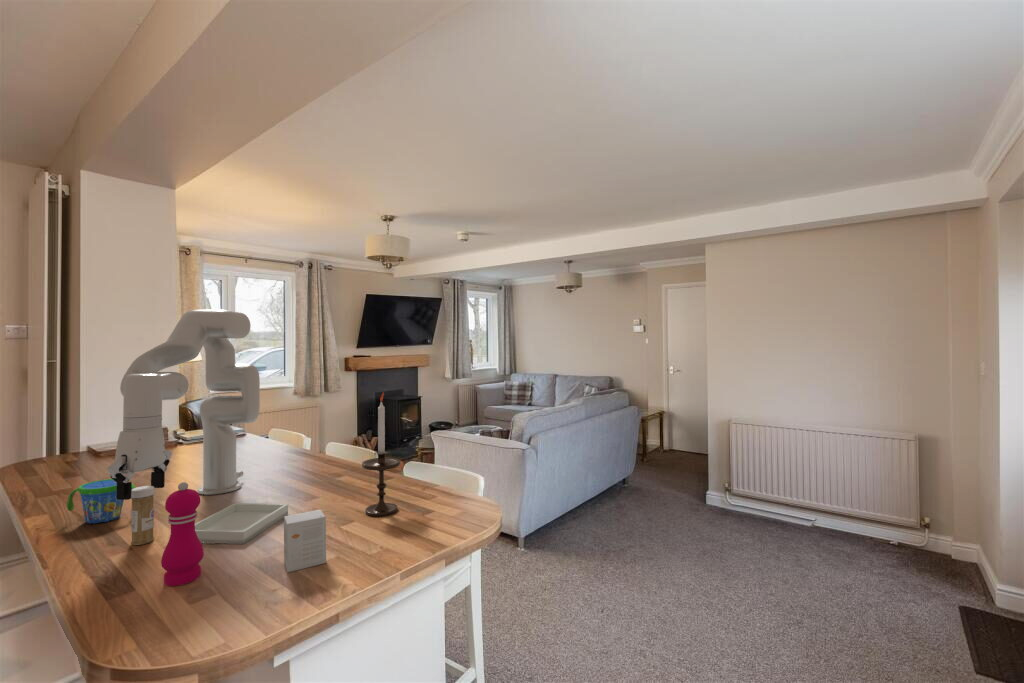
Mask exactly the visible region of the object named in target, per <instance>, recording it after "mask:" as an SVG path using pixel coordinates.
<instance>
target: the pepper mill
mask: <svg viewBox="0 0 1024 683" xmlns="http://www.w3.org/2000/svg"><path fill="white" fill-rule="evenodd" d="M177 489H178V490H174V492H172V493H171V494H169V495H168V496H167V497H166V500H165V505H164V507H165V511H166V512H168V514H169V515H168V516H167V518H168V520H167V523H168V524H170V535H169V538H168V542H167V544H166V546H165V548H164V551H163V553H162V555H161V562H160V563H161V564H160V565H161V567H162V569H163V570H165V571H166V572H164V575H163V583H164V585H165V586H167V587H179V586H182V585H186V584H189V583H192V582H194V581H196V580H198V579H199V578H200V576H201V574H202V566H201V564H200V563H201V561H202V560H203V558H204V554H205V552H204V547H203V543H201V542H200V540H199V538H198V536H197V534H196V531H195V523H196V520H197V519H198V510H197V508H199V506H200V504H201V494H199V493H198V490H195V489H192V488H189V484H188V483H187V482H186V481H184V482H180V483H179V484H178V485H177Z"/></svg>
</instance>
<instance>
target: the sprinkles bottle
mask: <svg viewBox="0 0 1024 683" xmlns="http://www.w3.org/2000/svg"><path fill="white" fill-rule="evenodd" d="M154 494H155V488H154V486H151V485H143V486H138V487H136V488H134V489H132V493H131V512H130V513H131V517H130V518H131V519H130V520H131V524H130V526H131V527H130V528H131V531H130V532H131V541H130V542H131V544H130V545H131V546H132V545H133V546H143V545H146V544H148V543H151V542H153V541H154V540H155V536H154V526H155V523H154V522H155V520H154V519H155V512H154V511H155V509H154Z"/></svg>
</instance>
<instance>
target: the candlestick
mask: <svg viewBox="0 0 1024 683" xmlns="http://www.w3.org/2000/svg"><path fill="white" fill-rule="evenodd" d="M384 392H385V391H382V394H381V396H380V398H379V400H380V403H379V406H378V407H377V417H378V418H377V452H374V455H377V457H375V458H369V459H366V460H363V461H362V463H361V468H362V469H364V470H368V471H377V472H378V479H379V480H378V483H377V484H376V489H378V492H377V493H376V494H377V495H376V496H378V502H377V503H375V504H370V505H369V506H367V507H366V508H365V511H364V512H365V515H366V516H368V517H373V518H374V517H375V518H379V517H380V518H382V517H387V516H388V517H389V516H392V515H393V514H396V513H397V512H398V505H397V504H395V503H392V502H386V501H385V495H387V494H386V492H385V489H386V488H387V483H385V471H386V470H392V469H395V468H398V467H400V466H401V459H400V458H397V457H388V456H387V457H386V454H389V451H386V450H385V449H386V448H385V447H386V446H385V444H386V442H385V441H386V436H385V435H386V427H385V426H386V425H385V423H386V422H385V420H386V419H385V418H386V415H385V413H386V410H385V406H384V404H383V401H384V400H383V399H384V396H385V393H384Z"/></svg>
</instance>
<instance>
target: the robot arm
mask: <svg viewBox="0 0 1024 683" xmlns="http://www.w3.org/2000/svg"><path fill="white" fill-rule="evenodd" d="M250 332H251V322H250V318H249V317H248V316H247V315H246V314H245V313H243V312H238V311H232V310H226V309H192V310H188V311H186V312H184V313H183V314H182V316H181V317H180V319H179V320H178V322H177V324H176V325H175V327H174V328H173V330H172V332H171V333H170V335H169V336H168V338H167V340H166V341H165V342H162V343H161V344H159V345H156V346H155V347H153V348H151V349H149V350H148V351H145V352H144V353H142V354H141V355H138V356H137V357H136V358H135V359H134V361H132V363H131V364H130V366H129V367H128V368H127V370H126V372H125V373H124V375H123V377H122V379H121V381H120V387H119V388H120V389H119V391H120V394H121V396H122V397H123V406H122V407H123V408H122V409H123V411H122V412H123V413H122V416H123V418H122V419H123V420H122V425H123V426H122V431H119V435H118V439H117V443H116V447H115V457H114V458H115V459H114V462H113V463H112V464H110V465H108V467H107V471H108V473H109V475H110V479H113V480H114V483H117V494H116V498H117V500H124V501H127V500H129V501H130V499H131V500H132V498H131V493H132V484H133V482H132V481H131V479H132V477H133V476H134V473H139V472H144V471H146V470H150V469H151V470H152V471H151V472H150V473H151V474H150V486H154V489H163V488H165V480H166V479H165V477H166V476H165V475H166V474H165V472H166V471H167V470H168V468H167V467H168V465H169V463H170V462H171V461H170V460H171V458H172V455H173V452H172V451H170V450H167V449H166V443H165V442H166V441H165V434H164V429H163V425H162V424H163V423H162V422H163V401H174V400H178V399H181V398H183V397H184V396H185V395H186V394H187V392H188V390H189V380H188V378H187V377H186V376H185V375H184V374H182V373H180V372H177V371H162V370H164V369H167V368H171V367H175V366H178V365H180V364H185V363H187V362H189V361H192V360H194V359H196V358H197V357H198V356H199V354H200V352H201V351H202V349H203V348H204V352H205V353H204V354H205V386H206V388H207V390H209V391H210V392H217V393H229V392H230V393H233V392H234V393H236V392H237V393H240V394H241V395H217V396H216V395H214V396H209V397H208V398H205V399H204V400H202V402H201V404H200V407H199V415H200V418H201V424H202V434H203V435H202V436H203V438H202V440H203V442H202V444H203V447H202V448H203V450H202V451H203V452H202V454H203V456H202V458H203V460H202V461H203V462H202V463H203V464H202V466H203V468H202V470H203V472H202V481H203V482H202V483H203V484H202V485H201V486H200V487H198V488H197V492H198V494H199V495H203V494H204V495H203V496H209V495H210V496H213V495H221V494H225V493H226V494H227V493H230V492H234V491H237V490H239V489H241V488H242V482H241V481H240V480H239V478H241V477H243V476H244V474H245V472H244V471H243V470H240V471H237V434H236V431H235V430H234V429H233V428H232V425H239V424H242V425H244V424H251V423H252V424H253V423H254V422H256V421H257V420H258V418H259V415H260V405H261V404H260V403H261V402H260V401H261V400H260V398H261V397H260V395H261V393H260V392H261V389H260V388H261V387H260V386H261V384H260V383H261V382H260V372H259V370H258V368H257V366H256V365H254V364H250V363H236V349H235V347H234V346H233V344H232V342H231V341H230V340H229V339H244V338H246V337H247V336H248V335H249V333H250ZM125 474H126V475H125ZM238 480H239V481H238Z"/></svg>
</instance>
